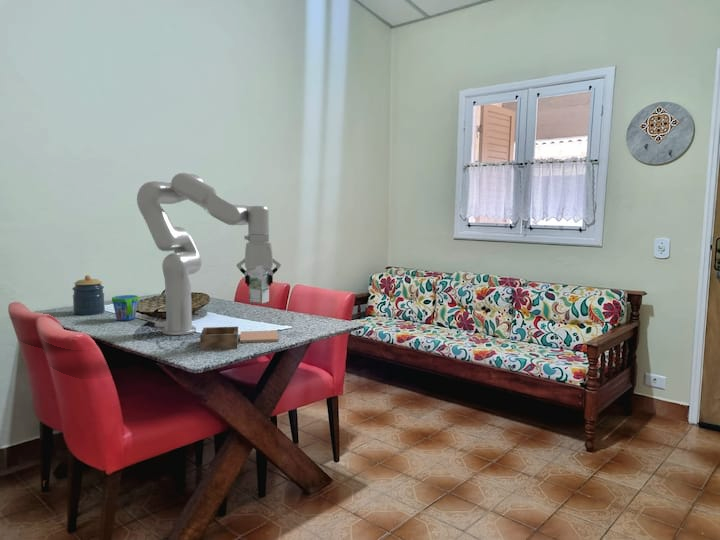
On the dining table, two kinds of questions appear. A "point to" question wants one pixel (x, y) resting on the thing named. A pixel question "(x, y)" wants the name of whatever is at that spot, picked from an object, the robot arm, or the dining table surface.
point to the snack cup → (125, 307)
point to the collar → (219, 338)
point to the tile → (259, 336)
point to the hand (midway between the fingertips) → (259, 285)
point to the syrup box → (259, 285)
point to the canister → (88, 297)
